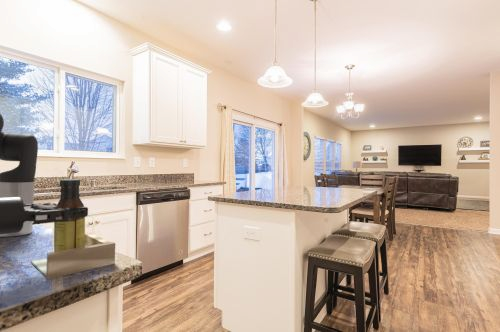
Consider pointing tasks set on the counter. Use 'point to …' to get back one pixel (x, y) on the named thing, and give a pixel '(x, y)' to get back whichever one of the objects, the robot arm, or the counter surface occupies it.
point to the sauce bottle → (74, 229)
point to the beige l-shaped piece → (78, 258)
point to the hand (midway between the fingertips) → (80, 209)
